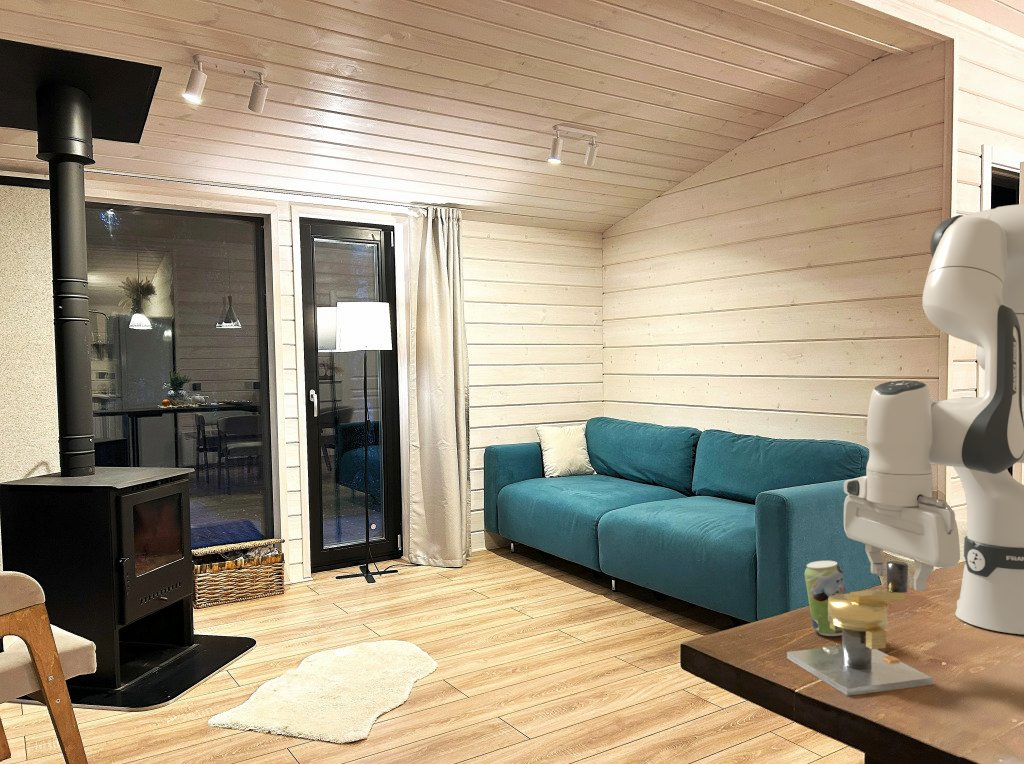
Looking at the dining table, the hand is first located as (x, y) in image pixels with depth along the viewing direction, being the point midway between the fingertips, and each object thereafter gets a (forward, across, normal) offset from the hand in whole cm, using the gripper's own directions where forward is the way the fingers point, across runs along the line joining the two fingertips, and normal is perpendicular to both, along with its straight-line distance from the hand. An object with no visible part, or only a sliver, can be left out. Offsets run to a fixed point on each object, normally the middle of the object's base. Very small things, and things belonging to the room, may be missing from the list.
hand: (897, 582), depth 119 cm
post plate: (+13, 0, +7) cm, 15 cm away
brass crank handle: (+8, 0, +5) cm, 9 cm away
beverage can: (+13, +15, +1) cm, 20 cm away
